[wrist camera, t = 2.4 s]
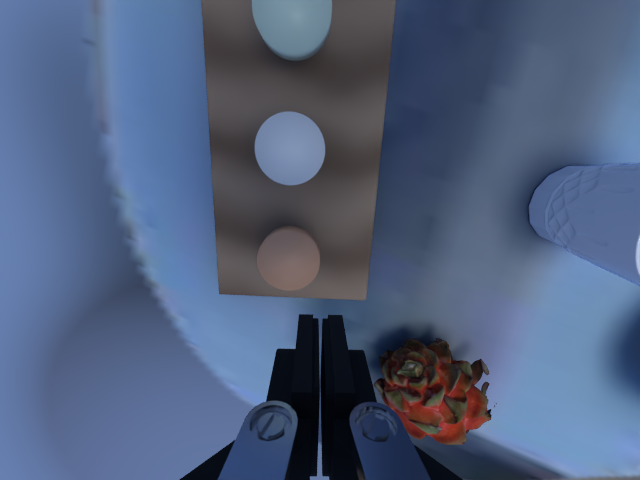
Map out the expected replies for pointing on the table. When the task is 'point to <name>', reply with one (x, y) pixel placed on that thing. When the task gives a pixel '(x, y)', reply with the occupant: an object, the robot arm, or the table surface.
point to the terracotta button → (289, 258)
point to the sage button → (293, 26)
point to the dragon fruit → (433, 391)
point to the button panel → (331, 118)
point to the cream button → (289, 148)
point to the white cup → (593, 215)
